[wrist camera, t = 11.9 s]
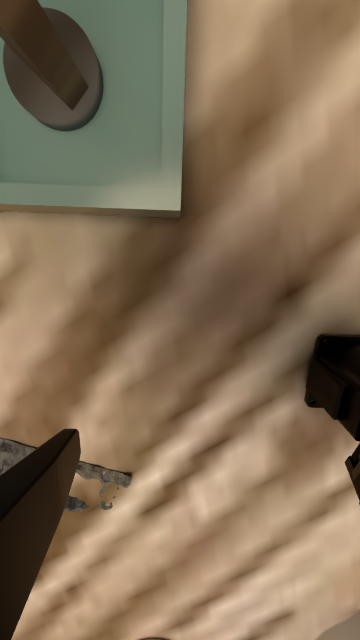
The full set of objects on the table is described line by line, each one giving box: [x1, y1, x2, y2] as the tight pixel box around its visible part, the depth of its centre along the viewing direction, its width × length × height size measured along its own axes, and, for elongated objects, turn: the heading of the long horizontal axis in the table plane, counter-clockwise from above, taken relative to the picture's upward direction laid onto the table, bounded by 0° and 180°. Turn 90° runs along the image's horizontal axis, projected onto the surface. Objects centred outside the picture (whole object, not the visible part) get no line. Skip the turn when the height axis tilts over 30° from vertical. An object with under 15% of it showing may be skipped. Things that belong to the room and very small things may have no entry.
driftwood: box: [0, 438, 131, 512], centre depth 25 cm, size 21×7×2 cm, turn 68°
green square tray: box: [0, 0, 187, 218], centre depth 14 cm, size 13×13×5 cm
